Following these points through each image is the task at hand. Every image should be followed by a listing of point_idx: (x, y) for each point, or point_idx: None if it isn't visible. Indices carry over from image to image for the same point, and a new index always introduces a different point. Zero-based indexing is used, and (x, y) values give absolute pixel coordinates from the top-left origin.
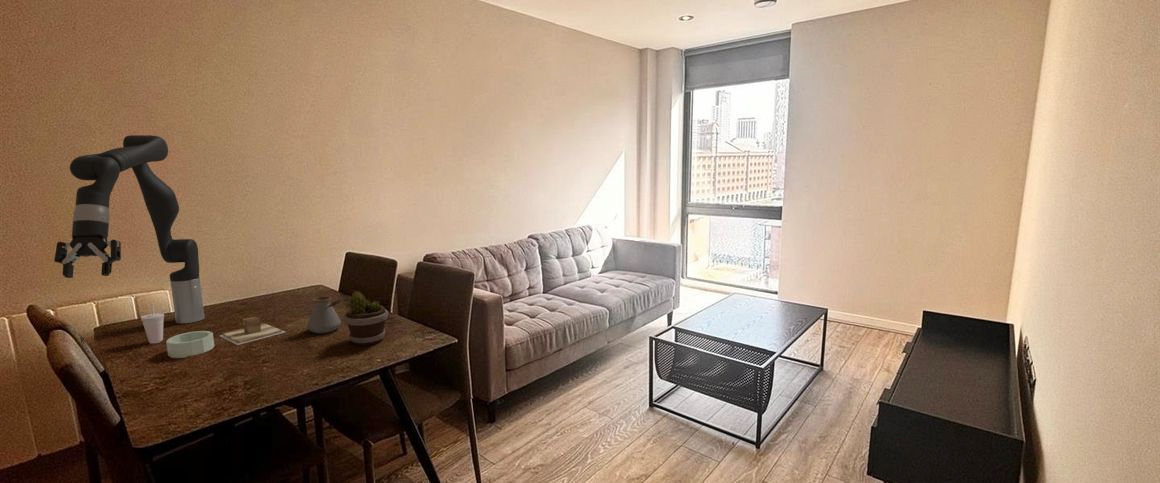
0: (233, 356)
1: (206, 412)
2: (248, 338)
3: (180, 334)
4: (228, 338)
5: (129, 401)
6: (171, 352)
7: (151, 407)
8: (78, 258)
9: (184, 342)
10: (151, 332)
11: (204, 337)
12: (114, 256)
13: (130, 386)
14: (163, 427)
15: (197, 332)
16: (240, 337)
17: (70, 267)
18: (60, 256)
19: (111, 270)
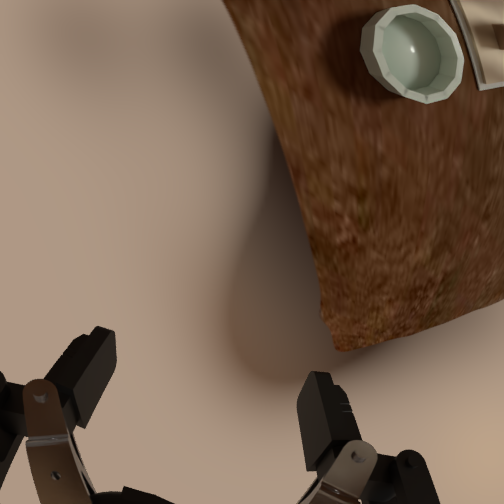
0: (465, 153)
1: (390, 329)
2: (498, 79)
3: (397, 9)
4: (465, 26)
5: (321, 271)
6: (375, 76)
7: (346, 299)
8: (73, 449)
9: (414, 95)
10: None
11: (450, 85)
12: (382, 498)
13: (314, 211)
14: (353, 340)
15: (432, 19)
16: (487, 57)
17: (88, 398)
18: (15, 452)
19: (348, 402)
